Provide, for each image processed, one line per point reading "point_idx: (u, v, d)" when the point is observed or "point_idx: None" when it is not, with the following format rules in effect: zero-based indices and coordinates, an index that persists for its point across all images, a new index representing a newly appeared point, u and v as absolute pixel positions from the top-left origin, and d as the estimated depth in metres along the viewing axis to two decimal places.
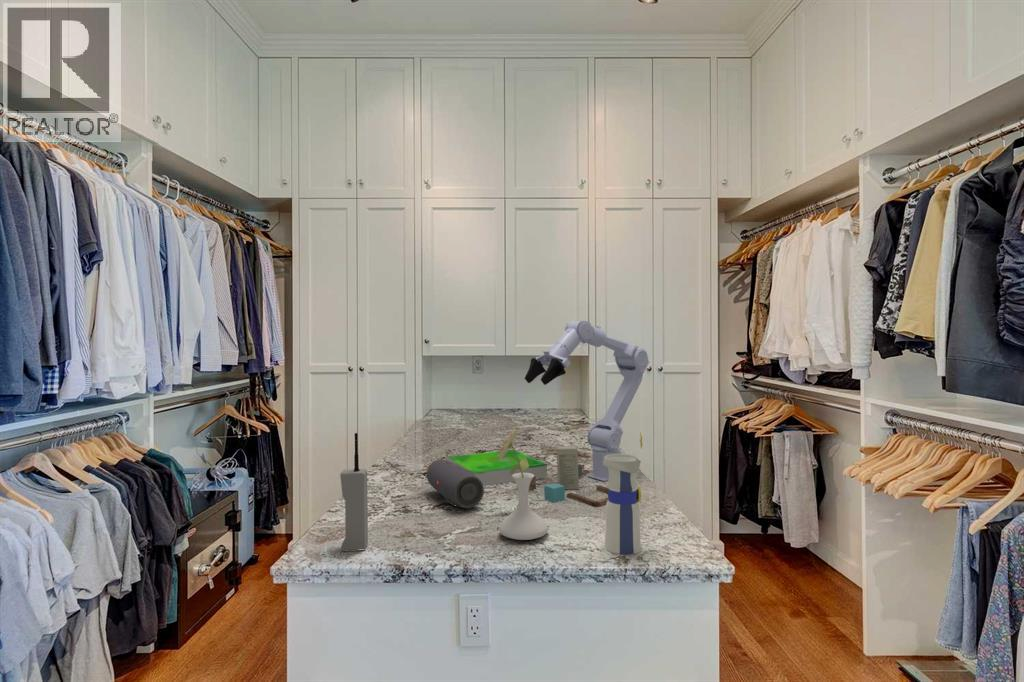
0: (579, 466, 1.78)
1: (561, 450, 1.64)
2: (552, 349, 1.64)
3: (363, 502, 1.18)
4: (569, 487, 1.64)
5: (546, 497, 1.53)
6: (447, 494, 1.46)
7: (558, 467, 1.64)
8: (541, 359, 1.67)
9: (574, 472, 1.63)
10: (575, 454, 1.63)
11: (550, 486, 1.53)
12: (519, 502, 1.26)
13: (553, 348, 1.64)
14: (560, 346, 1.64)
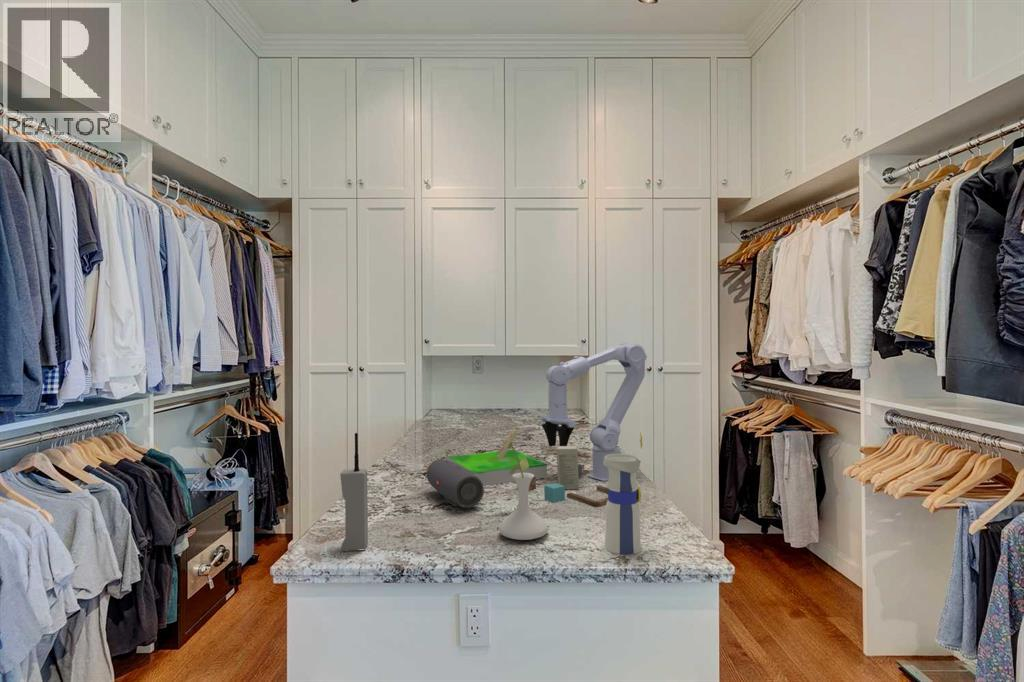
0: (579, 466, 1.78)
1: (561, 450, 1.64)
2: (551, 413, 1.72)
3: (363, 502, 1.18)
4: (569, 487, 1.64)
5: (546, 497, 1.53)
6: (447, 494, 1.46)
7: (558, 467, 1.64)
8: None
9: (574, 472, 1.63)
10: (574, 454, 1.63)
11: (550, 486, 1.53)
12: (519, 502, 1.26)
13: (551, 412, 1.72)
14: (556, 407, 1.71)
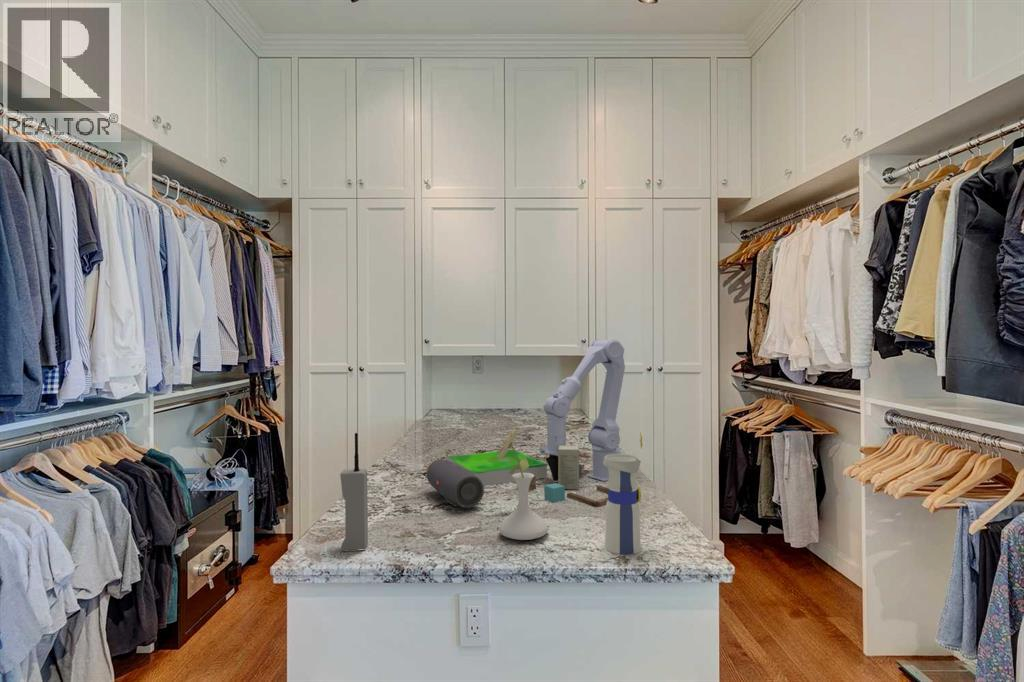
0: (579, 466, 1.78)
1: (562, 450, 1.62)
2: (550, 446, 1.68)
3: (363, 502, 1.18)
4: (569, 487, 1.63)
5: (546, 497, 1.53)
6: (447, 494, 1.46)
7: (559, 467, 1.63)
8: None
9: (575, 473, 1.63)
10: (576, 455, 1.62)
11: (550, 486, 1.53)
12: (519, 502, 1.26)
13: (550, 445, 1.68)
14: (554, 440, 1.67)
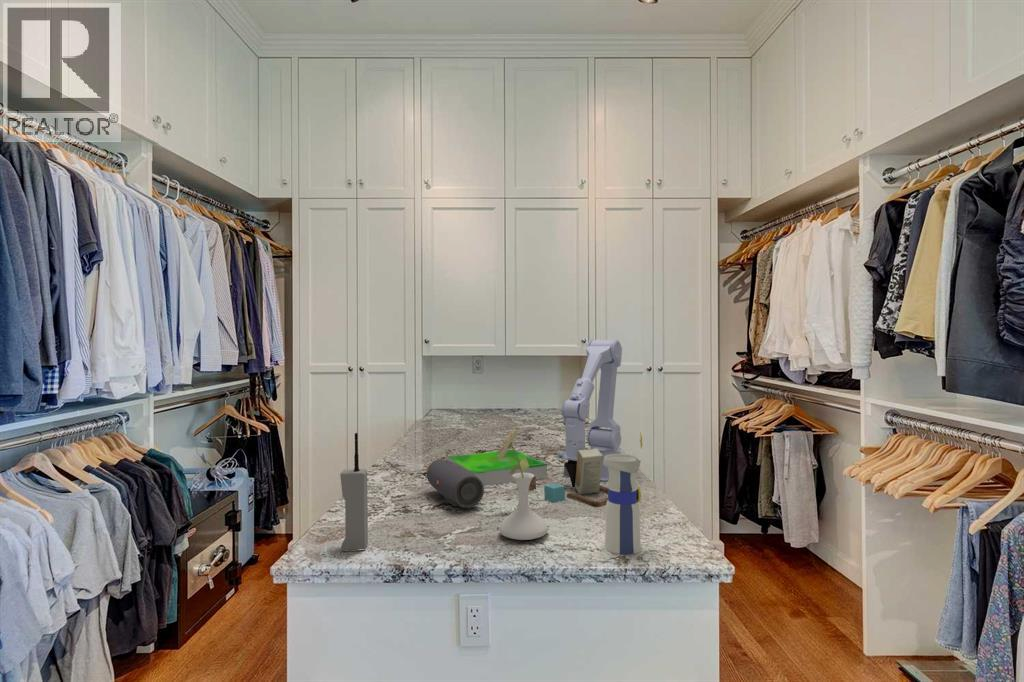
0: None
1: (587, 458, 1.55)
2: (569, 451, 1.61)
3: (363, 502, 1.18)
4: (590, 491, 1.59)
5: (546, 497, 1.53)
6: (447, 494, 1.46)
7: (582, 474, 1.56)
8: None
9: (597, 477, 1.58)
10: (599, 461, 1.56)
11: (550, 486, 1.53)
12: (519, 502, 1.26)
13: (569, 449, 1.61)
14: (573, 445, 1.60)
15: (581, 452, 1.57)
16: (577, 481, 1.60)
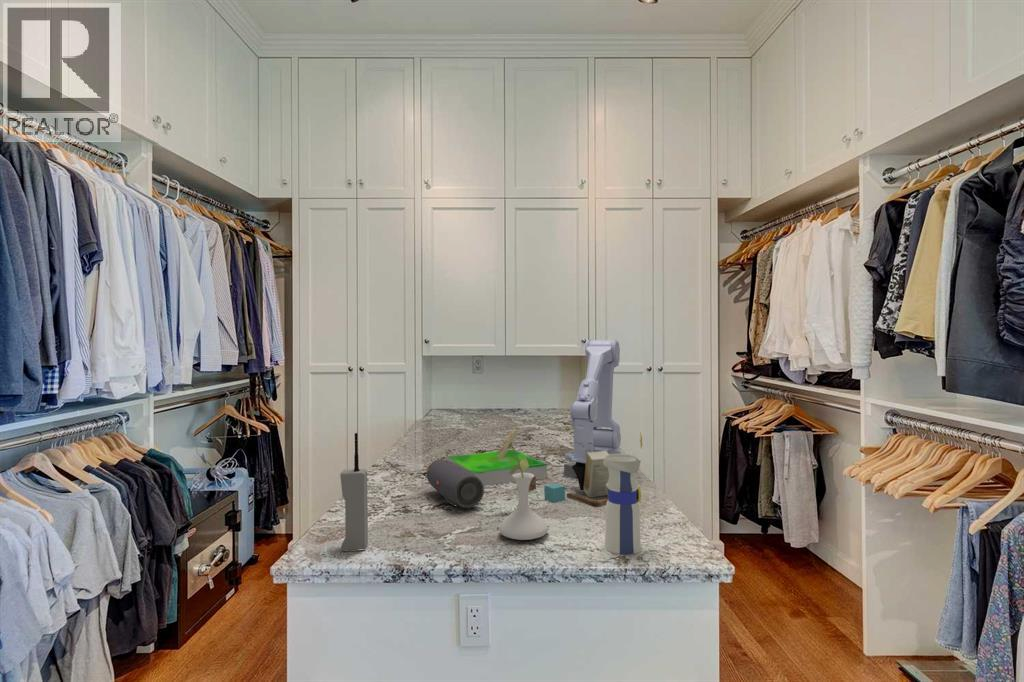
0: None
1: (596, 461, 1.52)
2: (577, 453, 1.58)
3: (363, 502, 1.18)
4: (599, 494, 1.56)
5: (546, 497, 1.53)
6: (447, 494, 1.46)
7: (591, 477, 1.54)
8: None
9: (606, 480, 1.55)
10: None
11: (550, 486, 1.53)
12: (519, 502, 1.26)
13: (577, 452, 1.58)
14: (582, 447, 1.57)
15: (590, 454, 1.54)
16: (586, 484, 1.57)
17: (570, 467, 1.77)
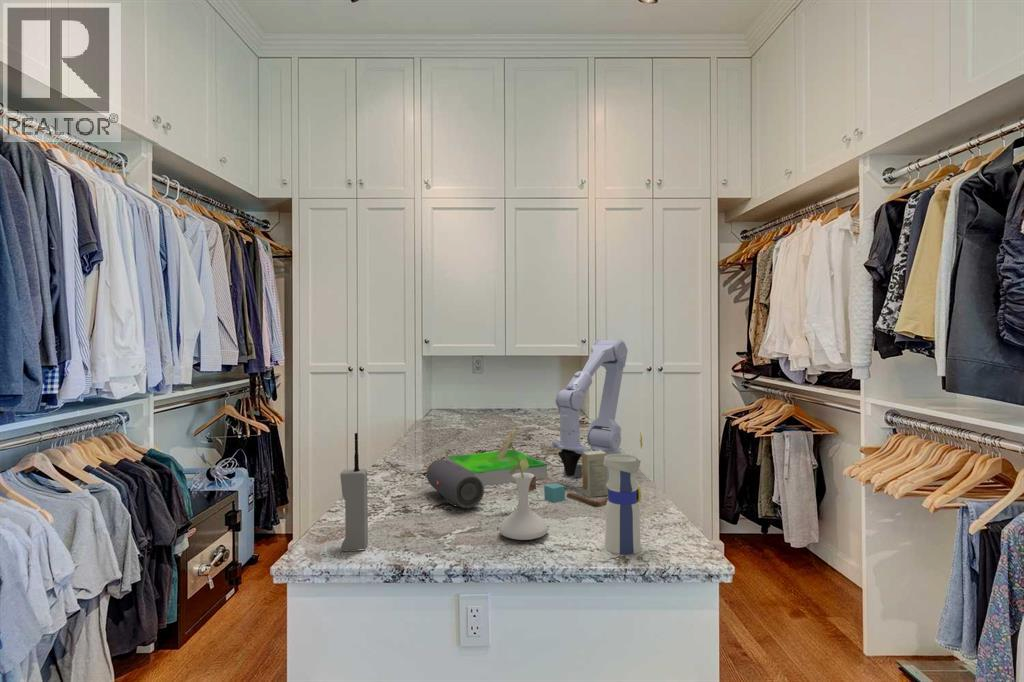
0: (579, 466, 1.78)
1: (591, 456, 1.56)
2: (563, 440, 1.63)
3: (363, 502, 1.18)
4: (599, 494, 1.56)
5: (546, 497, 1.53)
6: (447, 494, 1.46)
7: (588, 474, 1.55)
8: None
9: (604, 478, 1.57)
10: None
11: (550, 486, 1.53)
12: (519, 502, 1.26)
13: (563, 439, 1.63)
14: (568, 434, 1.62)
15: (585, 452, 1.58)
16: (584, 485, 1.58)
17: None
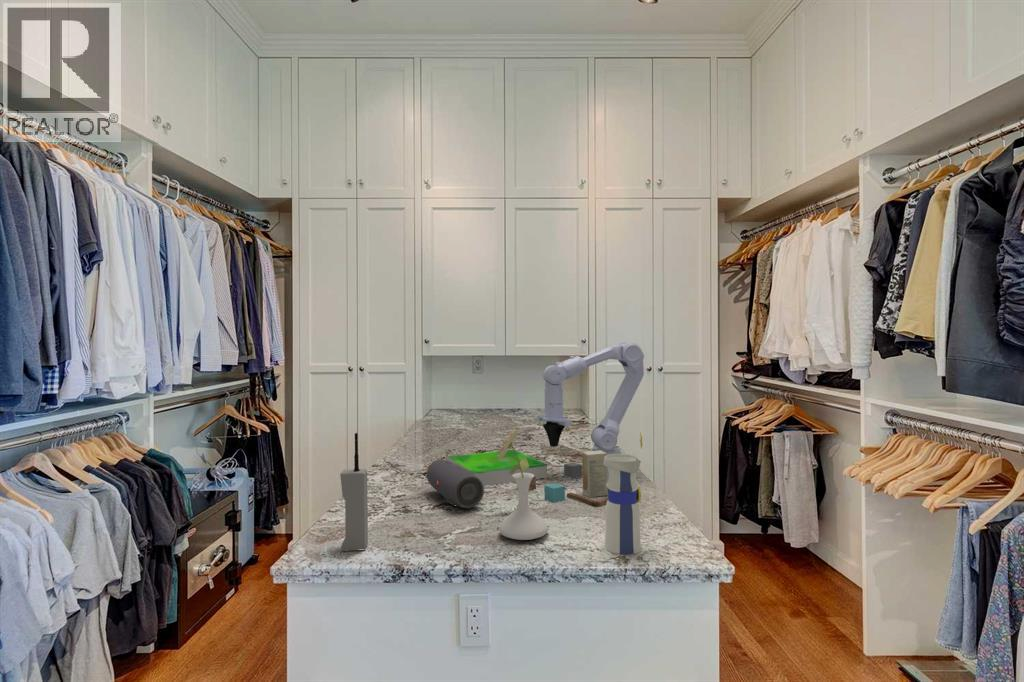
0: (579, 466, 1.78)
1: (591, 456, 1.56)
2: (547, 413, 1.73)
3: (363, 502, 1.18)
4: (599, 494, 1.56)
5: (546, 497, 1.53)
6: (447, 494, 1.46)
7: (588, 474, 1.55)
8: None
9: (604, 478, 1.57)
10: None
11: (550, 486, 1.53)
12: (519, 502, 1.26)
13: (548, 411, 1.73)
14: (552, 407, 1.73)
15: (585, 452, 1.58)
16: (584, 485, 1.58)
17: (570, 467, 1.77)
